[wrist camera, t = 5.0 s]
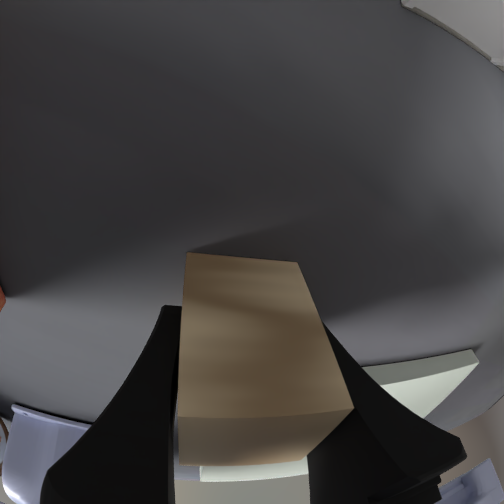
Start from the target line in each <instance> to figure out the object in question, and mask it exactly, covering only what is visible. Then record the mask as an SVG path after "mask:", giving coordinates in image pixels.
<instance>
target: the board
mask: <svg viewBox="0 0 504 504" xmlns="http://www.w3.org/2000/svg"><path fill="white" fill-rule="evenodd" d="M478 363H479V360H478V359H477V357H476V356H475V354H474V353H473V351H472V350H471V349H469V350H465V351H460V352H456V353H451V354H446V355H441V356H436V357H430V358H425V359H419V360H413V361H406V362H399V363H392V364H385V365H377V366H368V367H362V368H363V369H364V370H365V371H366V372H367V373H368V375H369V376H370V377H371V378H372V379H373V380H374V381H376V382H377V383H378V384H379V385H380V386H381V387H382V388H383V389H384V390H386V391H387V392H388V393H389V394H390V395H391V396H392V397H394V398H395V399H396V400H397V401H399V402H400V403H401V404H403V405H404V406H405V407H407V408H408V409H409V410H411V411H412V412H414V413H415V414H417V415H418V416H420V417H421V418H424V417H425V416H427V415H428V414H429V413H430V412H431V411H432V410H433V409H434V408H435V407H437V406H438V405H439V404H440V403H441V402H442V401H443V400H444V399H445V398H446V397H447V396H448V395H449V394H450V393H451V392H452V391H453V390H454V389H455V388H456V387H457V386H458V385H459V384H460V383H461V382H462V381H463V380H464V379H465V378H466V377H467V376H468V375H469V373H470V372H471V371H472V370H473V369H474V368H475V367H476V366H477V365H478ZM302 474H309V472H308V463H307V455H306V456H305V457H304V458H303V459H302V460H299V461H291V462H283V463H273V464H261V465H245V466H200V481H202V482H205V481H206V482H208V481H209V482H210V481H211V482H213V481H215V482H218V481H219V482H221V481H247V480H260V479H270V478H271V479H272V478H280V477H289V476H296V475H302Z"/></svg>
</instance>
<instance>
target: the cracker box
mask: <svg viewBox="0 0 504 504" xmlns="http://www.w3.org/2000/svg"><path fill="white" fill-rule="evenodd" d="M5 303H6V299H5V295H4V293H3V291H2V289H1V286H0V311H1V310H2V308H3V306H4V304H5Z"/></svg>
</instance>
